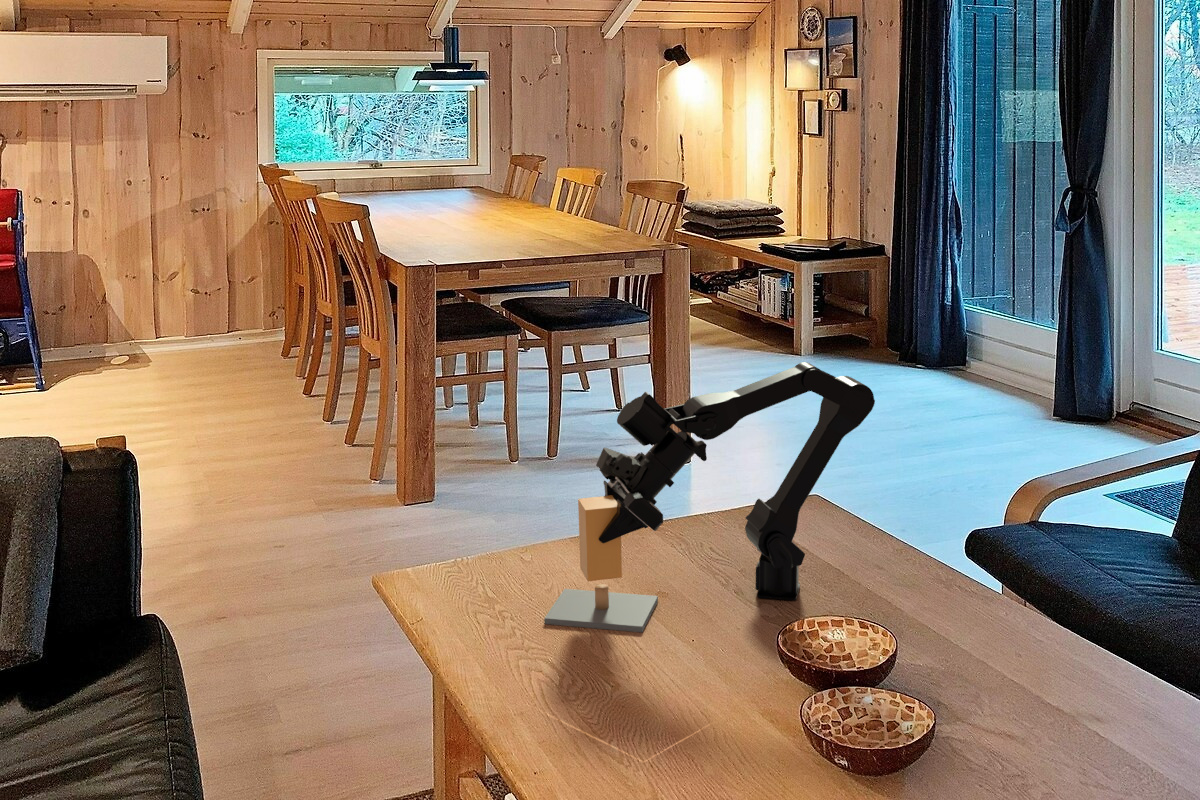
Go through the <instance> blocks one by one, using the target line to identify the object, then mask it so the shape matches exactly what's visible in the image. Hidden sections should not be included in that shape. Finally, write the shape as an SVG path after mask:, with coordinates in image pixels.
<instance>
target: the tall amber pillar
mask: <svg viewBox="0 0 1200 800" xmlns="http://www.w3.org/2000/svg"><path fill="white" fill-rule="evenodd" d="M577 502H578V503H577V504H578V534H579V535H578V536H579V537H578V541H579V568H580V570H581V572H582V574H583V576H584V577H585V580H586V582H595V581H602V580H603V581H604V580H612V579H621V578H623V571H622V569H623V568H622V567H623V566H622V564H623V563H622V561H623V560H622V559H623V558H622V536H620V537H618V538H616V539H613V540H611V541H608V542H606V543H602V542H600V541H599V537H600V535H601V534H602V532H603V531H604V529H605V528H606V527H607V525H608V524H609V522H610V521H611V520H612V518H613V517H614V515H615V514H616V512H617V501H616V500H615V499H614V497H613V496H612V495H610V496H605V495H602V496H593V497H583V498H582V497H581V498H578V499H577Z"/></svg>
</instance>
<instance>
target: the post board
mask: <svg viewBox="0 0 1200 800" xmlns="http://www.w3.org/2000/svg"><path fill="white" fill-rule="evenodd" d="M658 602H659V596H658V595H648V594H637V593H624V592H612V591H609V586H608V584H605V583H604V584H603V583H600V584H596V585H595V586H594V590H586V589H574V588H563V590H562V592H561V593H560V595H558V598H557V599H556V601H555V602H554V603H553V605H552V606H551V608H550V609H549V611H548V612H547V613H546V615H545V616H544V619H543V621H544V625H550V626H551V625H553V626H561V627H562V626H563V627H564V626H566V627H575V628H585V629H599V630H609V631H622V632H631V633H632V632H633V633H643V632H644V630H645V628H646V626H647V624H648V622H649V620H650V618H651V616H652V614H653V612H654V610H655V608H656V606H657V605H658Z"/></svg>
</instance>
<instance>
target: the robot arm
mask: <svg viewBox="0 0 1200 800" xmlns="http://www.w3.org/2000/svg"><path fill="white" fill-rule="evenodd" d="M808 392H812V393H815V394H816V395H818V396H820V397H823V398H822V399H821V403H820V407H819V414H818V415H819V416H818V421H817V424H816V425H815V427H814V428H813V430H812V432H811V433H810V435H809V436H808V438H807V440H806V442H805V444H804V446H802V449H801V451H799V454H798V455H797V457H796V459H795V461H793V464H792V465H791V467H790V469H789V471H788V472H787V474H786V476H785V477H784V478H783V481H782V482H781V484H780V485H779V487H778V489H777V491H776V492H775V493H774V494H773V496H771V497H770V498H769V499H767V500H766V501H764V500H763V499H761V498H757V499H756V501H755V502H754V504H753V508H752V510H751V511H750V513H749V514H748V515H746V516H745V520H747V521H746V524H745V528H744V529H745V534H746V538H747V539H748V541H749V542H751V544H752V545H753V546H755V548H756V549H757V551H758V552H760V553H761V554H760V557H759V561H758V562H757V563H756V566H755V590H756V591H757V594H756V597H757V598H760V599H769V600H770V599H771V600H772V599H773V600H784V601H796V600H798V596H799V595H798V594H799V591H800V588H801V587H800V586H801V584H800V582H799V576H800V575H799V573H800V572H799V569H800V568H799V567H800V566H801V565H802V564H803V561H804V559H805V557H806V553H805V552H804V551H803V550H802V549H801V548H800V547H799V546H798V545H796V544H795V542H793V540H794V537H795V535H796V532H797V530H798V521H799V514H800V510H801V509H802V507H803V505H804V504H805V502H806V500H807V498H808V496H810V493H811V492H812V490H813V489H814V486H815V485H816V484H817V482H818V480H819V479H820V477H821V475H822V474H823V472H824V470H825V469H826V467H827V465H828V464H829V462H830V460H831V459H832V457H833V456H834V454H835V452H836V450H837V449H838V447H839V445H840V444H841V441H842V440H843V439H844V437H846V436H847V435H848V434H849V433H851V432H852V431H854V430H855V429H857V428H858V427H859V426H860V425H861V424H862V423H863V422H864V421H865V419H866V418H867V417H868V415H869V414H871V412H872V411H873V410H874V407H875V404H876V403H875V402H876V400H875V396H874V392H873V390H872V389H871V388H870V387H869V386H867V385H865V384H864V383H862V382H861V381H858V380H857V379H855V378H853V377H852V376H849V375H841V376H837V377H836V376H835V375H833V374H831V373H828V372H826V371H824V370H821V368H819V367H817V366H815V365H813V364H812V363H810V362H805V361H803V362H799V363H797V364H796V365H795V366H793V367H791V368H788V369H786V370H783V371H781V372H777V373H775V374H772V375H771V376H768V377H765V378H763V379H760V380H757V381H755V382H752V383H750V384H747V385H744V386H742V387H740V388H737V389H734V390H729V391H726V392H725V391H724V392H711V393H705V394H700V395H696V396H695V395H694V396H693V397H690V398H688V399H687V400H686V401H685V402H684V403H682V404H678V405H675V406H670V407H665V408H664V407H662V405H660V404H659V403H658V402H657V401H656V399H655V398H654V397H653V396H652V395H651V394H650V393H649V392H648V391H644V392H643V393H642V395H641V396H638V397H635V398H634V399H632V400H631V401H630V402H626V404H625V405H624V406H623V408H622V409H621V410H620V412H619V414H618V415H617V419H616V423H617V424H618V425H619V426H620V427H621V428H622V429H623V430H624V431H625V432H627V433H628V434H629V435H630V436H632V438H634V439H635V440H636V441H637V442H638V443H639V444H641V446H644V447H645V446H649V445H651V446H652V447H650V449H649V450H648V451H647V452H646V453H643V452H639V453H637V454H636V455H635V456H634V457H631V456H629V455H626V454H625V453H621V452H619V451H616V450H613V449H611V448H607V447H603V448H602V450H601V453H600V455H599V458H598V460H597V462H596V467H597V468H598V469H599V471H600V472H601V474H602V476H603V477H604V478H605V479H606V480H609V481H608V482H607V481H606V480H603V486H604V496H610V495H612V496H613V497H614V499H615V500H616V501H617V512H616V514H615V515H614V517H613V518H612V520H611V521H610V522H609V524H608V525H607V527H606V528H605V529H604V531H603V532H602V534H601V535H600V537H599V541H600V542H602V543H606V542H608V541H611V540H613V539H616V538H618V537H620V536H621V537H623V536H625V535H628V534H630V533H634V532H636V531H639V530H641V529H647V528H648V527H649V528H650V529H652V530H653V531H654V532H656V531H657V530H658V529H659V527H661V526H662V524H663V523H664V514H663V513H662V511H661V510H660V509H659V508H658V507H657V506H656V503H657V502H658V501H657V500H656V499H655V498H656V497H657V496H658V495H659V494H660V492H661V491H662V490H663V489H664V488H665V487H666V486H668V487H669V488H671V487H672V486H673V485H674V484H675V482H674V481H673V480H672V479H673V478H674V477H675V476H676V475H677V474H678V473H679V472H680V471H681V469H682V468H683V467H684V466H685V465H686V464H687V463H688V462H689V460H690V459H692V457H693V456H694V455H695V456H697V457H698V458H699V459H700V460H701V461H703V462H705V461H707V460H708V459H707V443H705V442H704V441H710V440H714V439H716V438H718V437H720V436H721V435H723V434H724V433H726V432H728V431H730V430H732V428H733V427H734V426H735V425H736V424H737V423H738V422H739V421H741V420H743V419H744V418H745V417H747V416H750V415H752V414H753V415H754V414H755V413H757V412H760V411H763V410H765V409H768V408H770V407H773V406H775V405H777V404H780V403H784V402H785V401H789V400H790V399H792V398H793V399H794V398H796V397H798V396H801V395H803V394H806V393H808ZM672 425H674V426H675V427H677V428H678V430H680V431H678V432H677V431H676V430H674V429H673V428H672V427H671V426H672ZM690 434H693V435H694V436H696V437H697V438H699V439H701V440H696V439H695V438H693V437H692V436H691V435H690ZM703 440H704V441H703Z"/></svg>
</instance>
